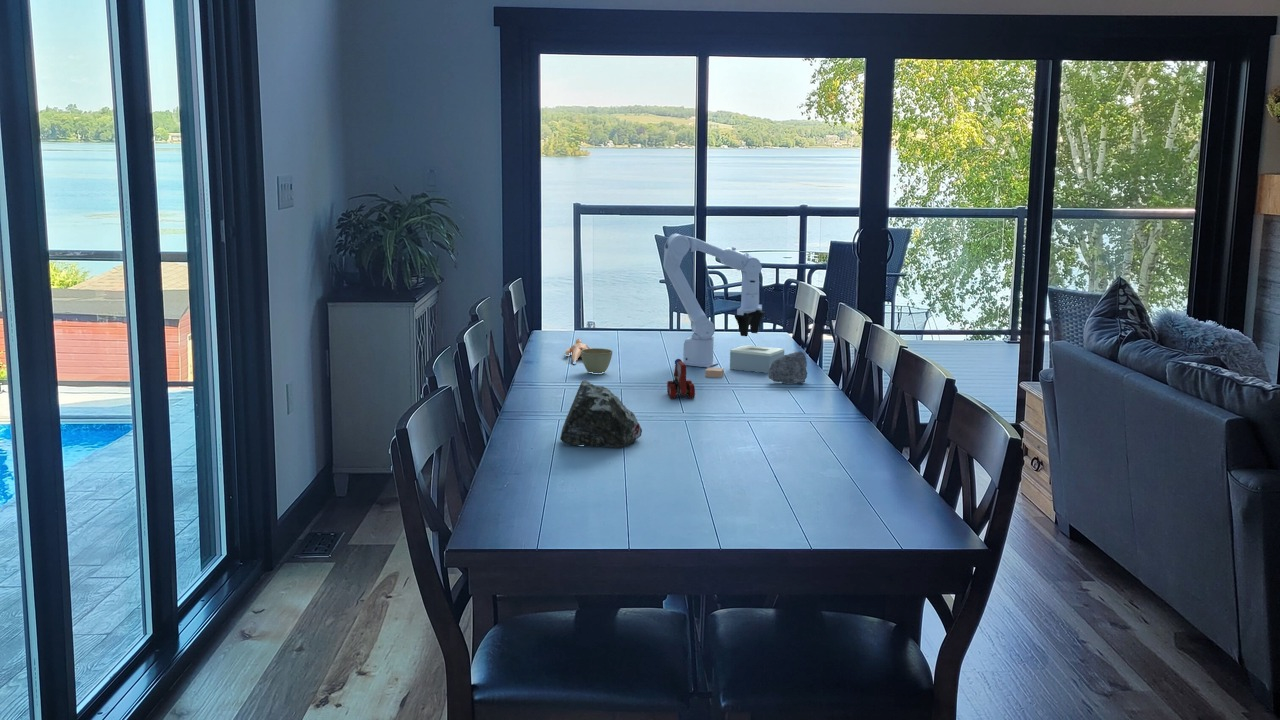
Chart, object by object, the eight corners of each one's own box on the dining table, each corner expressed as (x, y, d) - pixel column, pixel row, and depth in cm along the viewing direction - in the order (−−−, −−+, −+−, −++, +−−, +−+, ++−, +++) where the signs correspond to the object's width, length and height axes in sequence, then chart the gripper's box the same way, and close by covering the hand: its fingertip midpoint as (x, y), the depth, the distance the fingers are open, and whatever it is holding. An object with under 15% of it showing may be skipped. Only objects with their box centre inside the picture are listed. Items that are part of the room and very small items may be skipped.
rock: (806, 381, 331) (807, 349, 329) (808, 385, 326) (809, 352, 324) (767, 381, 332) (768, 348, 330) (768, 384, 326) (769, 351, 324)
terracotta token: (705, 377, 337) (705, 370, 337) (707, 374, 342) (707, 367, 342) (721, 378, 336) (721, 371, 336) (723, 375, 341) (723, 368, 341)
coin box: (729, 369, 350) (730, 349, 349) (745, 363, 359) (745, 344, 358) (769, 373, 343) (769, 353, 342) (783, 368, 352) (784, 348, 351)
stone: (595, 469, 245) (620, 411, 241) (536, 430, 252) (559, 373, 249) (636, 459, 261) (660, 405, 257) (579, 423, 269) (601, 369, 265)
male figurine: (567, 355, 355) (563, 337, 379) (567, 370, 356) (563, 351, 380) (600, 355, 356) (593, 336, 380) (600, 369, 358) (593, 350, 382)
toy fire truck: (689, 391, 316) (689, 356, 314) (695, 400, 304) (696, 364, 302) (665, 391, 315) (666, 356, 313) (671, 401, 303) (671, 364, 301)
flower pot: (575, 374, 339) (575, 352, 338) (588, 369, 349) (588, 347, 347) (604, 377, 336) (604, 354, 334) (617, 371, 345) (617, 349, 344)
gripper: (751, 296, 347) (750, 338, 349) (770, 292, 359) (769, 332, 362) (731, 295, 351) (730, 336, 353) (751, 290, 363) (750, 330, 365)
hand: (749, 334), depth 358 cm, fingers open, 7 cm apart
